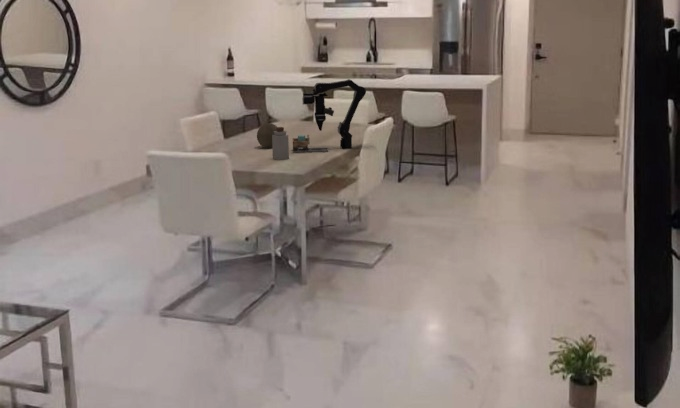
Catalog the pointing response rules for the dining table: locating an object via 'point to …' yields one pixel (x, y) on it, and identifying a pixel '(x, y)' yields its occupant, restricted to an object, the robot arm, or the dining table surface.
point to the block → (301, 137)
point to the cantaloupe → (266, 134)
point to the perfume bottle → (280, 144)
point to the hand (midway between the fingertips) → (320, 129)
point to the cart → (301, 143)
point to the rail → (311, 150)
